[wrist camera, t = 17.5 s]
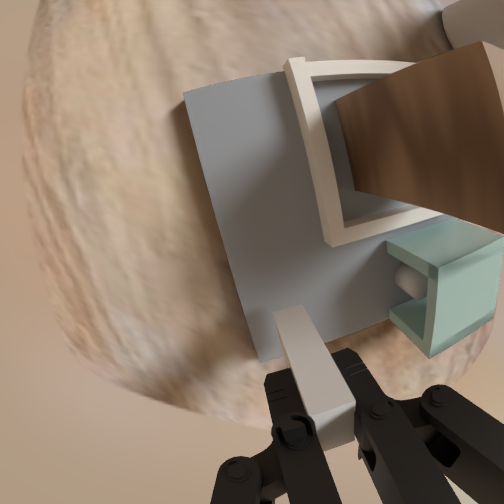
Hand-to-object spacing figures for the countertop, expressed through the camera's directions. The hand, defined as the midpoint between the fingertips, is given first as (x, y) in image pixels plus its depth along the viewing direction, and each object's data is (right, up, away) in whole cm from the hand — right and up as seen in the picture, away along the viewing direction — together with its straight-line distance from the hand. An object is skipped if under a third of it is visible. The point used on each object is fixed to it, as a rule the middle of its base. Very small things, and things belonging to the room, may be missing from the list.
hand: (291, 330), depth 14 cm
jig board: (+4, +7, +2) cm, 8 cm away
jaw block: (+5, +10, 0) cm, 11 cm away
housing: (+9, +3, +2) cm, 10 cm away
